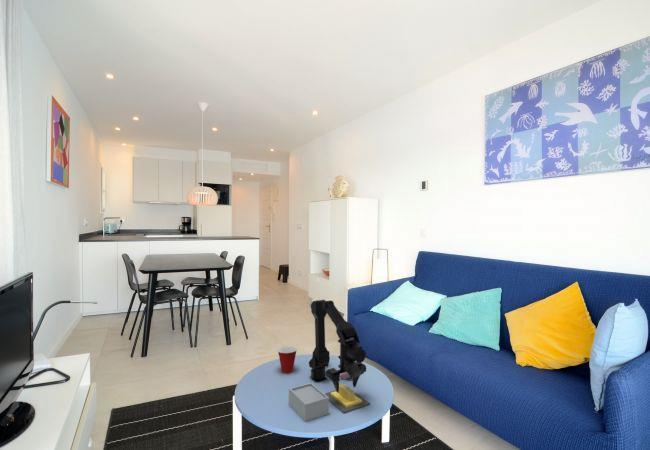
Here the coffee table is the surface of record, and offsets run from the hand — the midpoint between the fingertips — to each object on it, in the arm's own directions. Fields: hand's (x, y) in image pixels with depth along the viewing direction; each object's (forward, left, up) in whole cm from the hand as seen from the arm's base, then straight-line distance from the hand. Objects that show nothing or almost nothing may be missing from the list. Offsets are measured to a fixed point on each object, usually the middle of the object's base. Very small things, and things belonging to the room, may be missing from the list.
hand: (346, 389), depth 150 cm
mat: (0, 0, -5) cm, 5 cm away
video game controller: (-15, -18, -5) cm, 24 cm away
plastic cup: (+10, -40, -5) cm, 42 cm away
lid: (0, 0, -4) cm, 4 cm away
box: (+18, -2, -5) cm, 19 cm away
